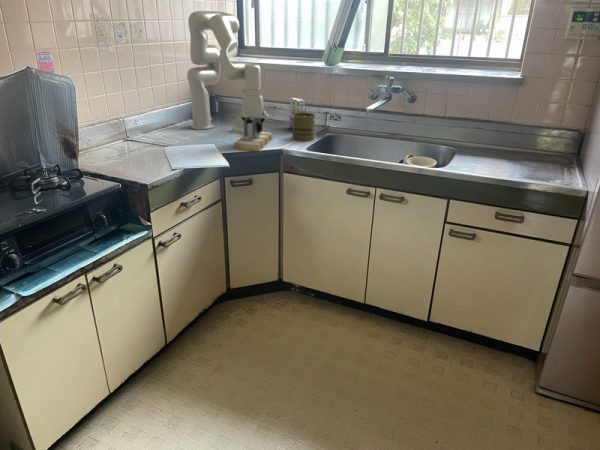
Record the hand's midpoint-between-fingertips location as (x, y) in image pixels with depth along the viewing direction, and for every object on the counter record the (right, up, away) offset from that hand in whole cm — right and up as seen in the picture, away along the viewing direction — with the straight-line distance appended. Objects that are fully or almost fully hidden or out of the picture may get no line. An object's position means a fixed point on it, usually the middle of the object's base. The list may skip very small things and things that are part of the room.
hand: (253, 131), depth 215 cm
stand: (0, -6, +2) cm, 6 cm away
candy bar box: (+21, +7, +31) cm, 38 cm away
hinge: (-6, +4, +23) cm, 24 cm away
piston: (+24, -1, +14) cm, 28 cm away
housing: (0, -1, +1) cm, 1 cm away
